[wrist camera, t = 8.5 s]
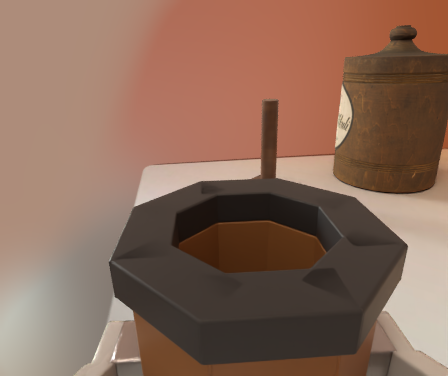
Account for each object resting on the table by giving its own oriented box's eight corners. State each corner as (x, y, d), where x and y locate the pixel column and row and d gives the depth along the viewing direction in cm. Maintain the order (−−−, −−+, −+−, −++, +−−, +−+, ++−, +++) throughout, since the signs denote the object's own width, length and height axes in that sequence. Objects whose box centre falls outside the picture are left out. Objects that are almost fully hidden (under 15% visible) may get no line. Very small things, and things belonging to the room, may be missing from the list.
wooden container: (352, 158, 63) (367, 31, 55) (442, 173, 54) (476, 23, 46) (317, 179, 52) (329, 27, 44) (422, 202, 43) (461, 16, 35)
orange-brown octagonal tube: (120, 476, 12) (66, 232, 8) (236, 357, 16) (235, 167, 13) (276, 691, 8) (308, 396, 4) (372, 454, 12) (428, 214, 9)
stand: (221, 202, 45) (218, 101, 40) (259, 183, 51) (261, 94, 46) (277, 220, 40) (282, 106, 35) (312, 197, 46) (320, 98, 41)
